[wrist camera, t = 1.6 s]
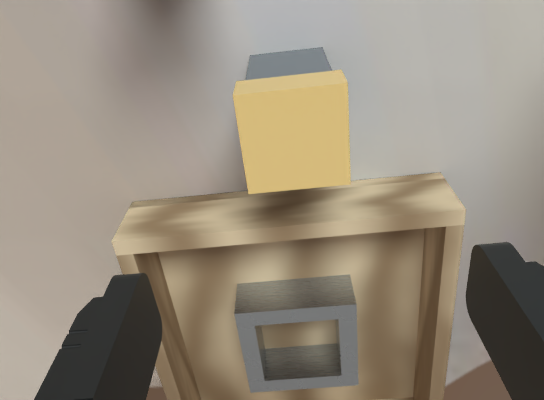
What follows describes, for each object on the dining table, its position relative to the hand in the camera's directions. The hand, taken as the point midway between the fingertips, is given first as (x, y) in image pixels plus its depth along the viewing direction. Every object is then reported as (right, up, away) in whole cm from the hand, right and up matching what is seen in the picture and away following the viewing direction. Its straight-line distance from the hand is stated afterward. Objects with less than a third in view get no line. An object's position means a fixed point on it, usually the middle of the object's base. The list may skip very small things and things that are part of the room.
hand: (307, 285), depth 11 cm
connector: (0, +9, +15) cm, 17 cm away
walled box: (+1, -6, +24) cm, 25 cm away
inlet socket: (+1, -6, +24) cm, 25 cm away
